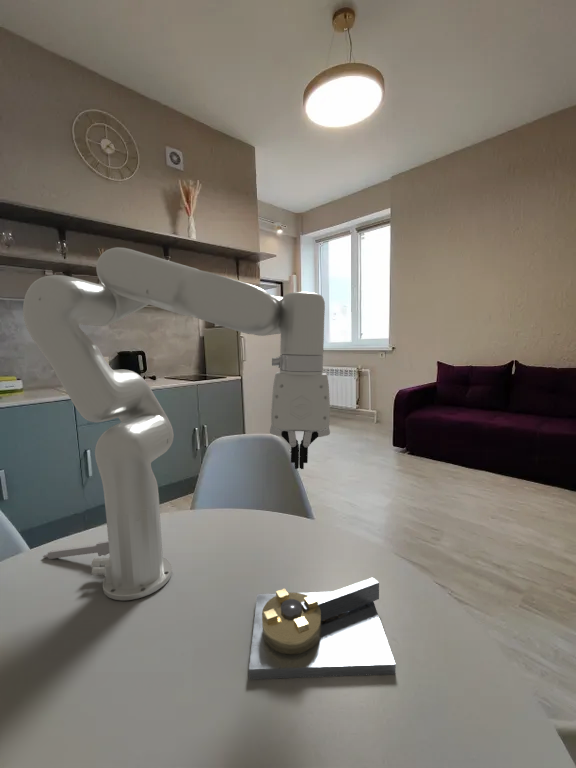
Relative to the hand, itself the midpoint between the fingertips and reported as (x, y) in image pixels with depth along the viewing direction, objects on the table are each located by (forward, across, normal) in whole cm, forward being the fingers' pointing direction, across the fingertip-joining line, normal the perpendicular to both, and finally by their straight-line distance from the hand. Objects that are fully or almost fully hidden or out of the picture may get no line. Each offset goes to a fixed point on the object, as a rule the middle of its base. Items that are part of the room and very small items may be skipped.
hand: (298, 466), depth 65 cm
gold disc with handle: (+21, +4, -10) cm, 24 cm away
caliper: (+26, -45, +10) cm, 53 cm away
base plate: (+23, +3, -11) cm, 26 cm away
